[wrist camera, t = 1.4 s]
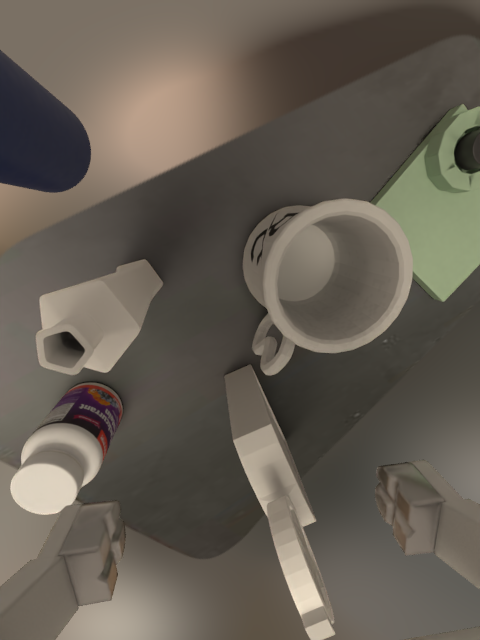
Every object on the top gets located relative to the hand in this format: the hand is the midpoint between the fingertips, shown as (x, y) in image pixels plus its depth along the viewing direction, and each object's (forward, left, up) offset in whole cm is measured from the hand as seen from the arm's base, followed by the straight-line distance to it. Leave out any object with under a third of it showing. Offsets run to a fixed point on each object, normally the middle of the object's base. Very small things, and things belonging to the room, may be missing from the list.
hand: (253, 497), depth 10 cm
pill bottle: (-4, -14, -20) cm, 24 cm away
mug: (+2, +6, -20) cm, 21 cm away
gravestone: (+8, -5, -20) cm, 22 cm away
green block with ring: (+9, +19, -19) cm, 29 cm away
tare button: (+6, +22, -17) cm, 29 cm away
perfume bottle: (-8, -2, -20) cm, 21 cm away
